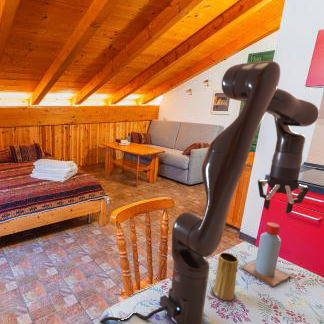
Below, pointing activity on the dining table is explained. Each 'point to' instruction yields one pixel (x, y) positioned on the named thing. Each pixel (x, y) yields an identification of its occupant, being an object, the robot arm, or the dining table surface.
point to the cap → (272, 228)
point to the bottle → (267, 254)
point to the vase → (226, 276)
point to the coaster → (272, 280)
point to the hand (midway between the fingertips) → (277, 210)
